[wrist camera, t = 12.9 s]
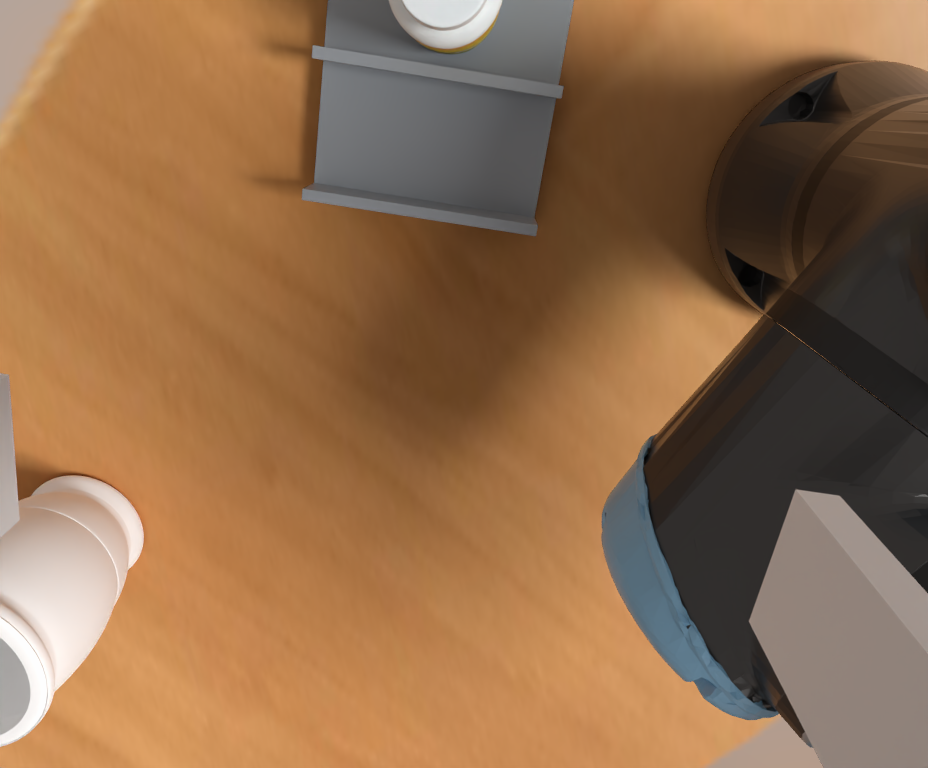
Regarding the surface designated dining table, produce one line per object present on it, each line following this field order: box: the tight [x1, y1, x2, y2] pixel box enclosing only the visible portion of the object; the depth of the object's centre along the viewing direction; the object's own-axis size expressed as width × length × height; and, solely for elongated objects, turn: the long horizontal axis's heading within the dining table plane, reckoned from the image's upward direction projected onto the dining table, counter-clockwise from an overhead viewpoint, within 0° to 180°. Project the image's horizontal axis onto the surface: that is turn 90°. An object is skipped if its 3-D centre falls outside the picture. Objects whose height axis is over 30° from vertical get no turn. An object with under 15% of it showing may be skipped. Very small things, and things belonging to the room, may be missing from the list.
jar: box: [0, 475, 144, 747], centre depth 47 cm, size 11×10×15 cm
